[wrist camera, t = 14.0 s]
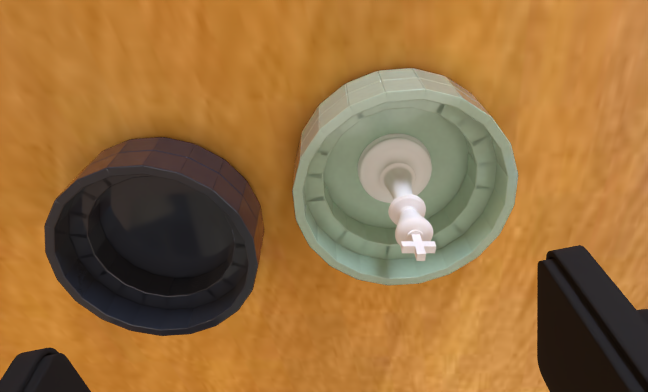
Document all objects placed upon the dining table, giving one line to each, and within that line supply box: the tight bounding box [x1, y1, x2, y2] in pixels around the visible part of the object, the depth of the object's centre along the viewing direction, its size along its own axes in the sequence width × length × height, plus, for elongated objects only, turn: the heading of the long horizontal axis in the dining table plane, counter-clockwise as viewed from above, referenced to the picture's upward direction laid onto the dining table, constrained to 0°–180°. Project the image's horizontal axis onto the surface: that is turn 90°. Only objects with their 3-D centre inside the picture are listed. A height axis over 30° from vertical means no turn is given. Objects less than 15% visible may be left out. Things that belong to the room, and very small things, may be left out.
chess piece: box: [357, 133, 436, 261], centre depth 29 cm, size 5×5×10 cm
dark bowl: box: [45, 137, 264, 336], centre depth 33 cm, size 13×13×4 cm
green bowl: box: [292, 68, 518, 285], centre depth 31 cm, size 13×13×4 cm
